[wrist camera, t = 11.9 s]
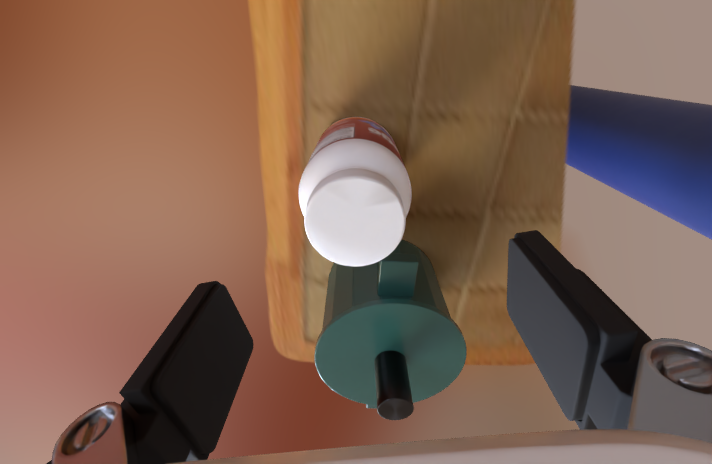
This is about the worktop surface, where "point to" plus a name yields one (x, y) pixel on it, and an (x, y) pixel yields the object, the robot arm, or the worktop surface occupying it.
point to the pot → (384, 282)
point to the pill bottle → (355, 193)
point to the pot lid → (390, 354)
